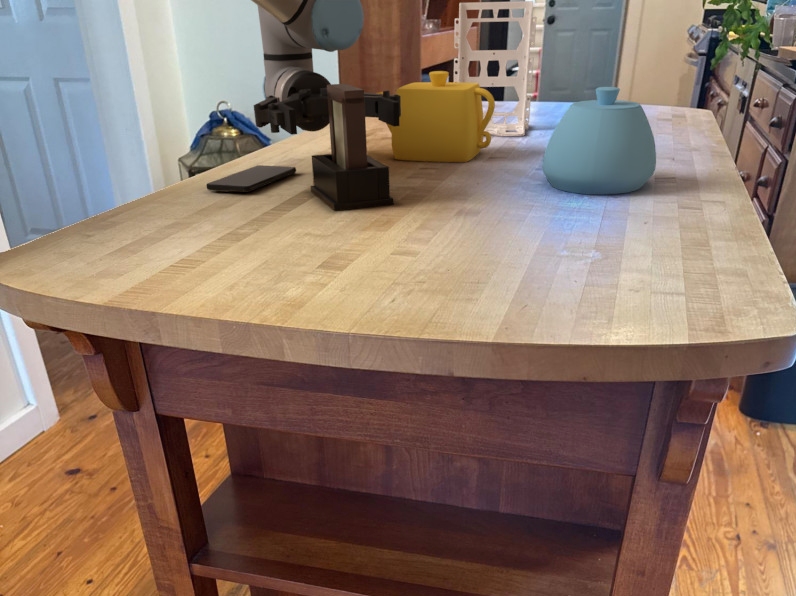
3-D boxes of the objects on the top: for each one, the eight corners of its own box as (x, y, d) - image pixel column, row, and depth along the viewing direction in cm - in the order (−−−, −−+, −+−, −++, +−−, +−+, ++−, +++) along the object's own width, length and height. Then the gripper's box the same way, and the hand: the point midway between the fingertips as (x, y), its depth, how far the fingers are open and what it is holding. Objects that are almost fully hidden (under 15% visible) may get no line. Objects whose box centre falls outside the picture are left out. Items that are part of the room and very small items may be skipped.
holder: (310, 191, 103) (307, 156, 100) (365, 186, 105) (364, 151, 102) (334, 211, 94) (331, 172, 91) (393, 204, 96) (392, 166, 93)
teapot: (363, 159, 121) (359, 75, 114) (387, 146, 130) (384, 67, 123) (484, 164, 116) (487, 75, 109) (499, 150, 125) (503, 67, 118)
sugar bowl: (566, 169, 111) (576, 79, 104) (666, 179, 104) (683, 83, 98) (522, 189, 101) (529, 91, 94) (630, 201, 94) (646, 96, 88)
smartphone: (297, 166, 113) (247, 186, 101) (297, 173, 113) (248, 193, 102) (257, 164, 115) (204, 183, 103) (257, 171, 115) (205, 190, 104)
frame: (333, 186, 102) (326, 84, 95) (351, 184, 102) (345, 83, 95) (350, 198, 96) (344, 90, 89) (368, 196, 96) (364, 89, 89)
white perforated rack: (449, 136, 137) (451, 3, 125) (454, 125, 148) (457, 2, 136) (528, 136, 136) (538, 1, 124) (528, 125, 147) (537, 0, 135)
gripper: (386, 122, 116) (437, 143, 99) (225, 134, 109) (251, 159, 93) (384, 65, 111) (437, 77, 95) (217, 75, 105) (243, 90, 89)
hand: (345, 118), depth 94 cm, fingers open, 13 cm apart
